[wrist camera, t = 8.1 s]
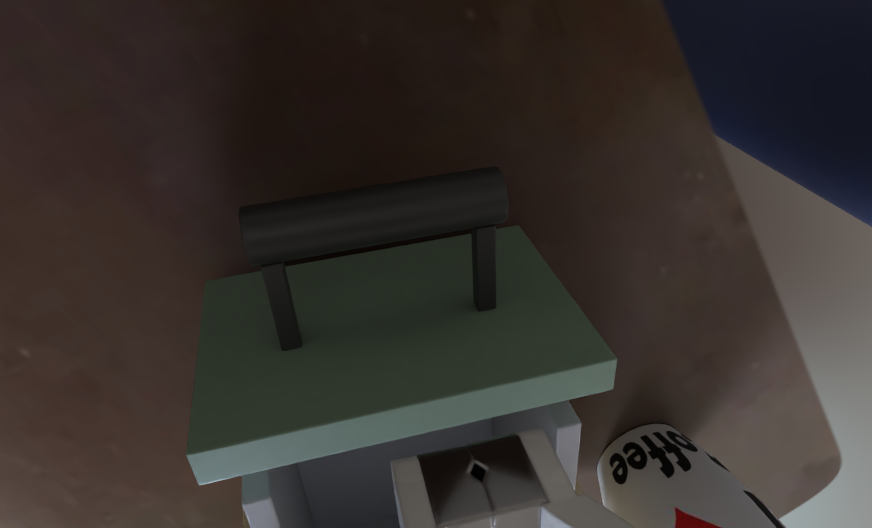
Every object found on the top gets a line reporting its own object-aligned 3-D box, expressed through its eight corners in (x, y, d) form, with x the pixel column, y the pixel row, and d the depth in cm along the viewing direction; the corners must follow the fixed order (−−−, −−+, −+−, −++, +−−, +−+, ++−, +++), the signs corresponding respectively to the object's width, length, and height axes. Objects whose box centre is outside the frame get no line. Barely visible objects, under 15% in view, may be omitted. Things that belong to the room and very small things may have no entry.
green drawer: (165, 157, 19) (122, 304, 13) (520, 106, 21) (637, 211, 15) (284, 531, 30) (294, 715, 23) (514, 474, 32) (581, 629, 25)
